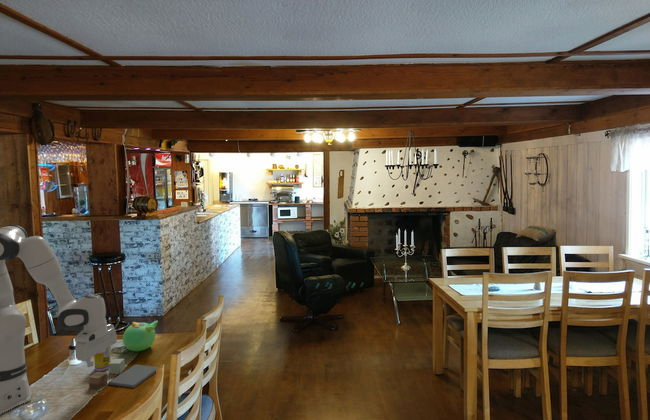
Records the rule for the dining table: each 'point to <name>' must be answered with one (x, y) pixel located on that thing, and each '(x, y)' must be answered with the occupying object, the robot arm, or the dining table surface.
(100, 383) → the walnut cube
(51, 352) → the dining table surface
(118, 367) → the sage cube
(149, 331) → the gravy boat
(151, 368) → the slate board
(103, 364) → the supplement bottle
